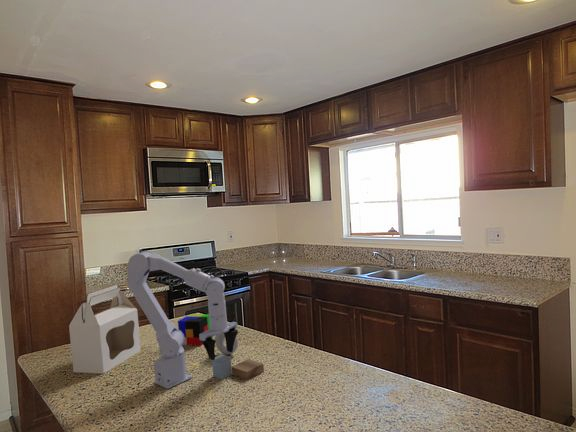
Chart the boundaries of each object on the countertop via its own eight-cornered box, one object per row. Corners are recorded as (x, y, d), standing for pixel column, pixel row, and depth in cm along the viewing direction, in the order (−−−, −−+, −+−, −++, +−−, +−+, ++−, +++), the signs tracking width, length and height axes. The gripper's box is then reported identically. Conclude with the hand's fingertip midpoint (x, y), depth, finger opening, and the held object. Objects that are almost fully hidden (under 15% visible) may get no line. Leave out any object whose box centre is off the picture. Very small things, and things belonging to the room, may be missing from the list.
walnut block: (247, 381, 129) (246, 371, 129) (232, 375, 134) (231, 366, 134) (263, 372, 135) (263, 363, 135) (248, 367, 140) (248, 359, 140)
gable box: (103, 374, 142) (95, 296, 141) (72, 372, 146) (65, 296, 145) (141, 350, 164) (135, 282, 163) (113, 349, 167) (107, 283, 166)
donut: (240, 354, 151) (238, 328, 151) (235, 357, 148) (233, 331, 148) (220, 351, 156) (218, 325, 156) (214, 354, 153) (212, 328, 153)
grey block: (221, 379, 131) (220, 361, 131) (212, 376, 134) (211, 358, 134) (232, 374, 134) (231, 356, 134) (223, 371, 137) (222, 354, 137)
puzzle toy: (179, 344, 167) (177, 321, 167) (192, 336, 177) (190, 314, 176) (201, 345, 164) (199, 321, 164) (212, 337, 174) (210, 314, 174)
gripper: (207, 322, 125) (211, 365, 126) (242, 310, 136) (245, 350, 137) (194, 319, 130) (197, 360, 130) (228, 308, 141) (231, 346, 141)
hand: (221, 355), depth 134 cm, fingers open, 7 cm apart
